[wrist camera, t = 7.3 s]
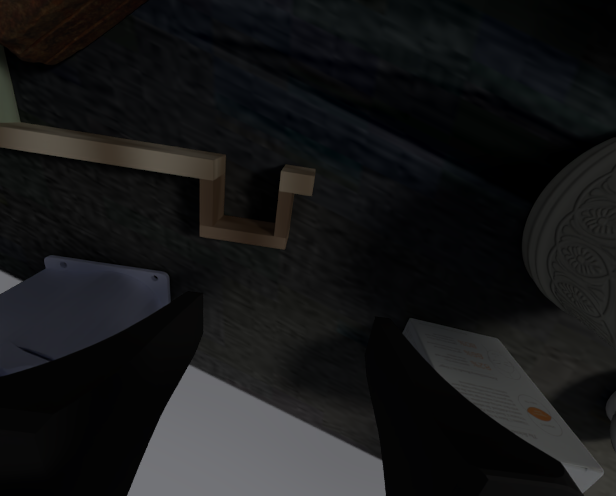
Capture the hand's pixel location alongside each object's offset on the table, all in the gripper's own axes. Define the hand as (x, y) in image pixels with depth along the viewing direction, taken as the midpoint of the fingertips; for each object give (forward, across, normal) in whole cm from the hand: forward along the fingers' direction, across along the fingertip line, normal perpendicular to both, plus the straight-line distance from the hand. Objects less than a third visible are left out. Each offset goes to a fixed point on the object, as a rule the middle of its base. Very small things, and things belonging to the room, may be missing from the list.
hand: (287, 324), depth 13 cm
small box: (+11, -13, +9) cm, 19 cm away
